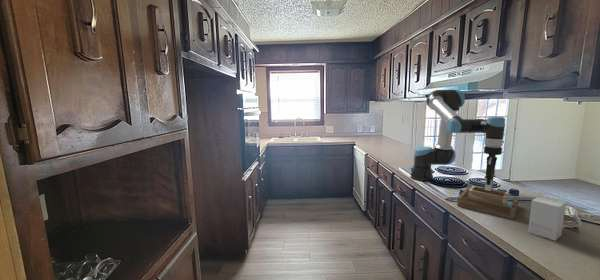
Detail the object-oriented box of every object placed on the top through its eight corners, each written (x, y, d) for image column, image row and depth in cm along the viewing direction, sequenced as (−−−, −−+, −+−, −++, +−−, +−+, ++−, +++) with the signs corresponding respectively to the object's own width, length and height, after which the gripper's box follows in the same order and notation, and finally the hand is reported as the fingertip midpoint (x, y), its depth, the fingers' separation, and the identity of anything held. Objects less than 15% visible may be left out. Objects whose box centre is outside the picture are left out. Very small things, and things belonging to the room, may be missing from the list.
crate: (471, 197, 148) (474, 168, 145) (506, 204, 137) (510, 174, 134) (467, 202, 140) (470, 172, 138) (504, 210, 129) (508, 178, 127)
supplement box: (562, 235, 110) (567, 202, 107) (555, 241, 105) (560, 207, 103) (534, 226, 117) (539, 195, 115) (527, 232, 112) (531, 199, 110)
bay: (466, 195, 156) (467, 186, 156) (517, 205, 140) (518, 196, 139) (457, 205, 141) (458, 196, 140) (513, 219, 124) (514, 208, 123)
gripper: (500, 149, 125) (494, 195, 129) (504, 145, 137) (499, 187, 140) (481, 147, 131) (477, 191, 134) (487, 143, 142) (482, 184, 146)
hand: (488, 189), depth 137 cm, fingers closed on crate, 3 cm apart
